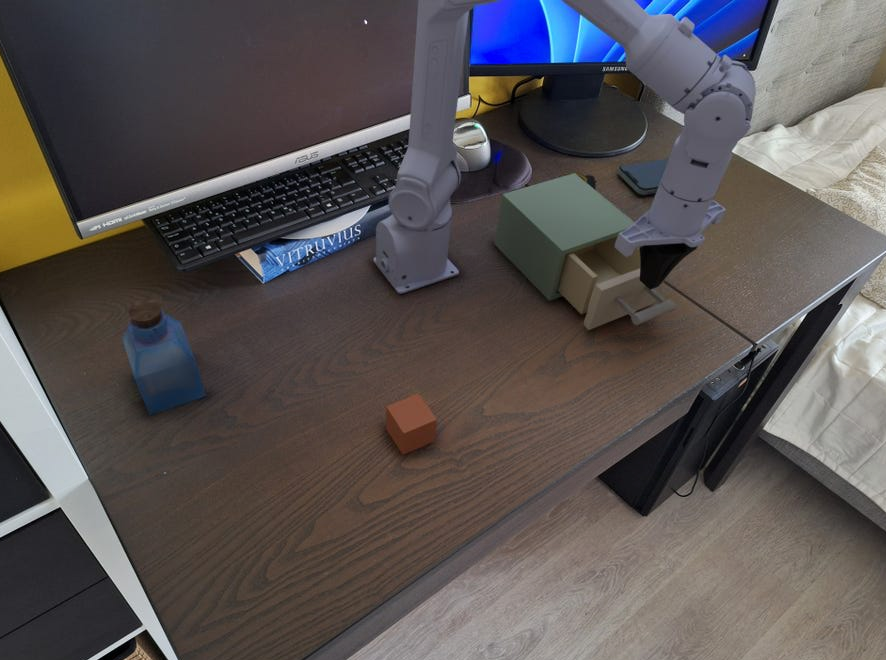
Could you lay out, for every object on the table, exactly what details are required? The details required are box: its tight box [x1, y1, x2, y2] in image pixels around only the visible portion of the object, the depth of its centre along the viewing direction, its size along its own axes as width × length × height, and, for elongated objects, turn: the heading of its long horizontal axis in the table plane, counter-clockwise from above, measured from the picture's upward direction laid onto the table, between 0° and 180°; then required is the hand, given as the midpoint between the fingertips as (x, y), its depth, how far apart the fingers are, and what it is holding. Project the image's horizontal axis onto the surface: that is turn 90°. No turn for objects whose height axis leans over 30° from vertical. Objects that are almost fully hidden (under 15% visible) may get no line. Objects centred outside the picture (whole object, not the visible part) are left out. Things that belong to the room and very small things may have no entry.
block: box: [385, 393, 438, 456], centre depth 72 cm, size 4×4×4 cm
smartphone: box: [617, 158, 669, 196], centre depth 112 cm, size 8×2×15 cm
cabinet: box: [494, 172, 636, 302], centre depth 93 cm, size 14×13×9 cm
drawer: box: [557, 236, 676, 331], centre depth 87 cm, size 17×11×7 cm, turn 30°
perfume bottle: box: [121, 298, 207, 416], centre depth 72 cm, size 6×6×12 cm
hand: (648, 283), depth 81 cm, fingers closed
